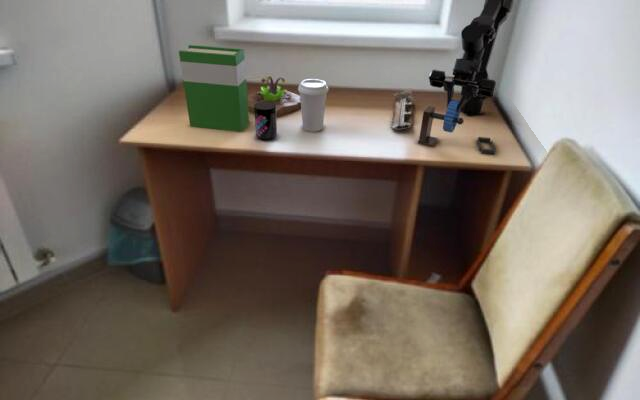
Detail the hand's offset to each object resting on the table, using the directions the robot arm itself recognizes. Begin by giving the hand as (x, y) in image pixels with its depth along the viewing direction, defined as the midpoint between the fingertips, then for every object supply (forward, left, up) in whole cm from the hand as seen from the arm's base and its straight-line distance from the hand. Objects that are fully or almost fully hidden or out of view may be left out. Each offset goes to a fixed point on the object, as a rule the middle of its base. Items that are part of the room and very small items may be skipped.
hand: (452, 109), depth 127 cm
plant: (+44, -46, -13) cm, 65 cm away
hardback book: (+64, -34, -13) cm, 74 cm away
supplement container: (+51, -21, -13) cm, 57 cm away
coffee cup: (+35, -24, -13) cm, 44 cm away
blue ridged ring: (-1, -1, -2) cm, 3 cm away
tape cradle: (-13, +3, -12) cm, 18 cm away
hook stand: (+1, -3, -12) cm, 13 cm away
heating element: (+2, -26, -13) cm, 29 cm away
